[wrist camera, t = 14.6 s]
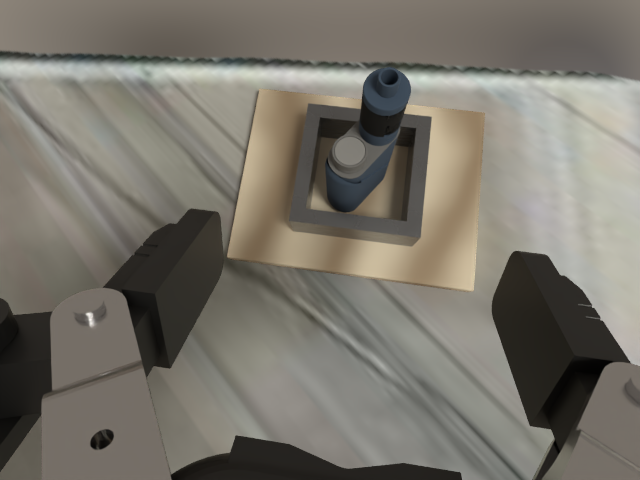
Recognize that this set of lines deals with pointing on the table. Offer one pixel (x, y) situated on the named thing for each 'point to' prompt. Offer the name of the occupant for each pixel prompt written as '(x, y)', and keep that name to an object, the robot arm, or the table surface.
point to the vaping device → (367, 141)
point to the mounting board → (383, 202)
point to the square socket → (351, 226)
